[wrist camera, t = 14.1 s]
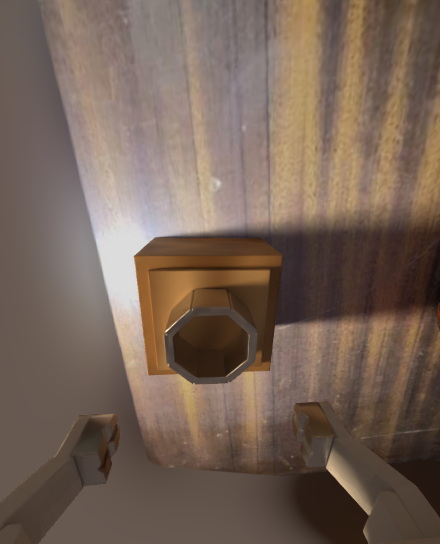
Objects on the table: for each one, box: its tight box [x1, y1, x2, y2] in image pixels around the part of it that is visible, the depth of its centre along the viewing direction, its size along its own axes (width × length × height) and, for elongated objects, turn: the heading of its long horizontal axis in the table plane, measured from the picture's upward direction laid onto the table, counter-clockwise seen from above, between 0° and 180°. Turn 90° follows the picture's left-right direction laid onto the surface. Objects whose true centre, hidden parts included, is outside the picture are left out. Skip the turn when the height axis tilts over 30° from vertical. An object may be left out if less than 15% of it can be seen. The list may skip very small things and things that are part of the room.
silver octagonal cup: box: [164, 288, 258, 384], centre depth 16 cm, size 6×6×3 cm
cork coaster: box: [148, 268, 270, 370], centre depth 18 cm, size 9×9×1 cm
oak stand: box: [134, 238, 283, 375], centre depth 21 cm, size 11×11×7 cm
